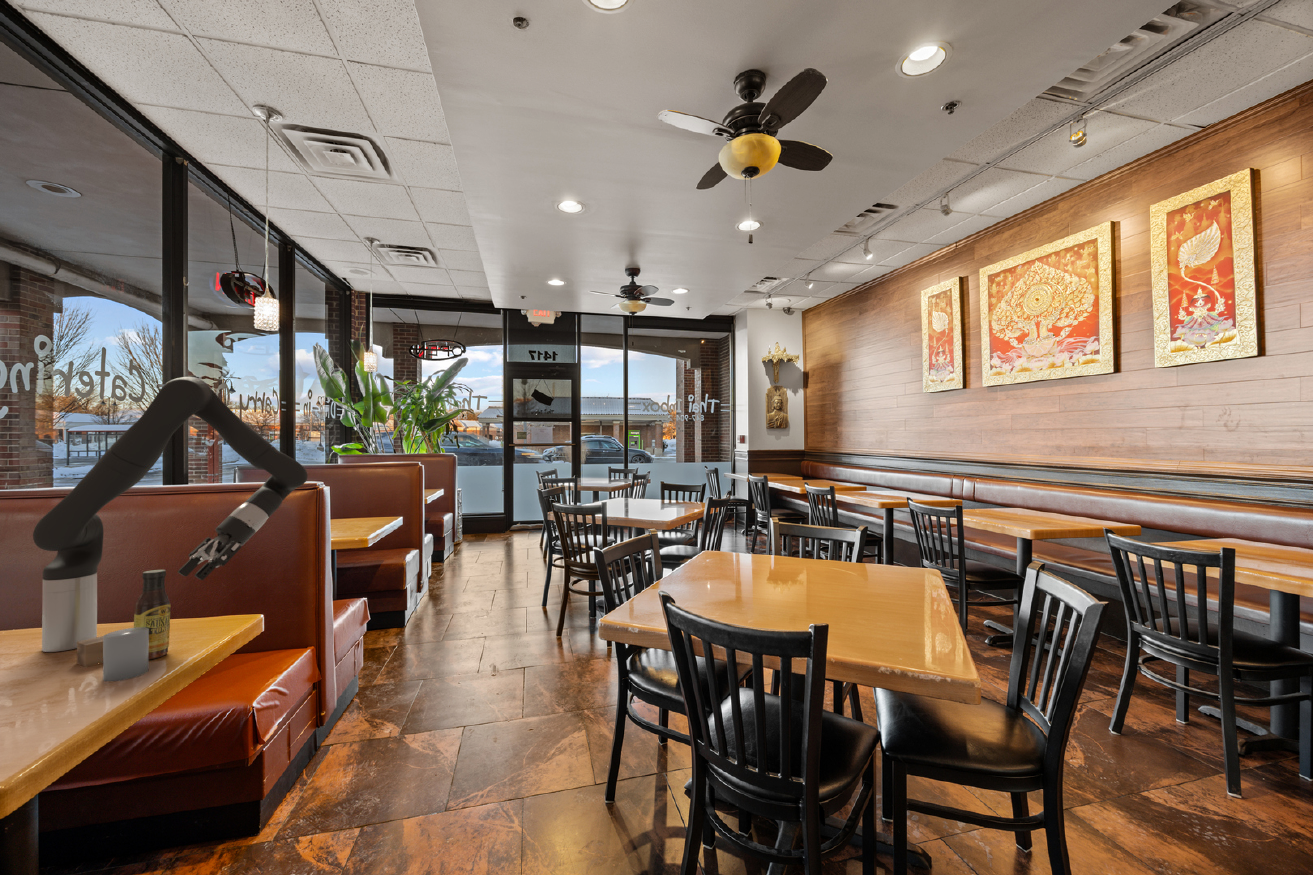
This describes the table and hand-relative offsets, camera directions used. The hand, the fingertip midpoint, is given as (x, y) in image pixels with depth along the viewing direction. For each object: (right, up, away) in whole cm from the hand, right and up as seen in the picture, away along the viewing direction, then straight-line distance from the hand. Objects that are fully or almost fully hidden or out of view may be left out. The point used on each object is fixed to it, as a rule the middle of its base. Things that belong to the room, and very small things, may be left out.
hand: (189, 576), depth 133 cm
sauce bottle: (-3, -17, -7) cm, 19 cm away
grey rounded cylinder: (+1, -17, -17) cm, 24 cm away
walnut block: (-13, -17, -9) cm, 24 cm away
